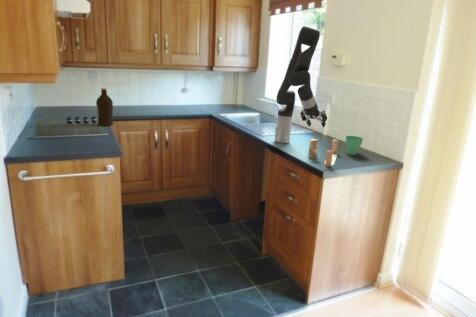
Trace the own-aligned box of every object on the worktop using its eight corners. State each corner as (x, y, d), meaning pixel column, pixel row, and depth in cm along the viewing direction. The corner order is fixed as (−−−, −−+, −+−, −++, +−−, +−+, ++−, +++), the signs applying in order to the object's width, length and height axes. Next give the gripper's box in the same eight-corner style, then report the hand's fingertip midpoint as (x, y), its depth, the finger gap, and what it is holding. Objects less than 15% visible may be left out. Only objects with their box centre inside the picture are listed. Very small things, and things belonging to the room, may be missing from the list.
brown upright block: (307, 157, 202) (309, 140, 200) (308, 155, 207) (311, 138, 204) (316, 159, 201) (318, 141, 198) (317, 156, 205) (319, 139, 203)
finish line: (322, 165, 189) (324, 151, 187) (329, 152, 217) (331, 139, 215) (332, 167, 188) (334, 152, 185) (338, 153, 216) (340, 140, 213)
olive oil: (114, 123, 258) (113, 88, 251) (112, 126, 248) (111, 89, 241) (98, 123, 256) (96, 87, 249) (96, 126, 246) (94, 89, 239)
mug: (360, 157, 210) (363, 140, 207) (343, 154, 213) (345, 138, 210) (360, 151, 224) (362, 135, 221) (343, 149, 226) (346, 133, 224)
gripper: (323, 99, 190) (331, 121, 200) (300, 98, 199) (308, 120, 209) (318, 108, 186) (326, 131, 196) (294, 107, 195) (303, 129, 205)
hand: (317, 125), depth 202 cm, fingers open, 8 cm apart
